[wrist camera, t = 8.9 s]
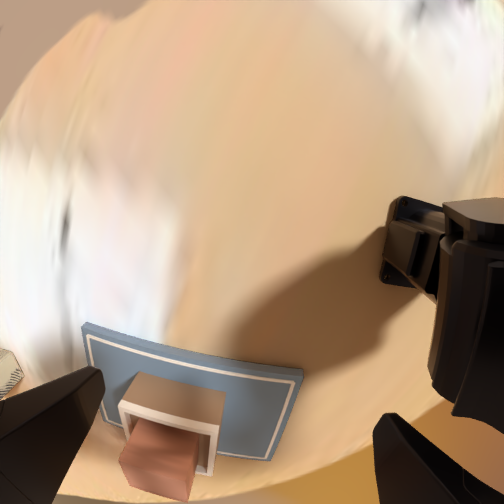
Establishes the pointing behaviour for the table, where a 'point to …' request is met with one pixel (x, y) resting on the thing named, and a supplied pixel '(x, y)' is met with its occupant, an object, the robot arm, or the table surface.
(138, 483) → the terracotta block
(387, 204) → the table surface
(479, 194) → the table surface
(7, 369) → the box
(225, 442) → the blueprint board
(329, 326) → the table surface
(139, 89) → the table surface
